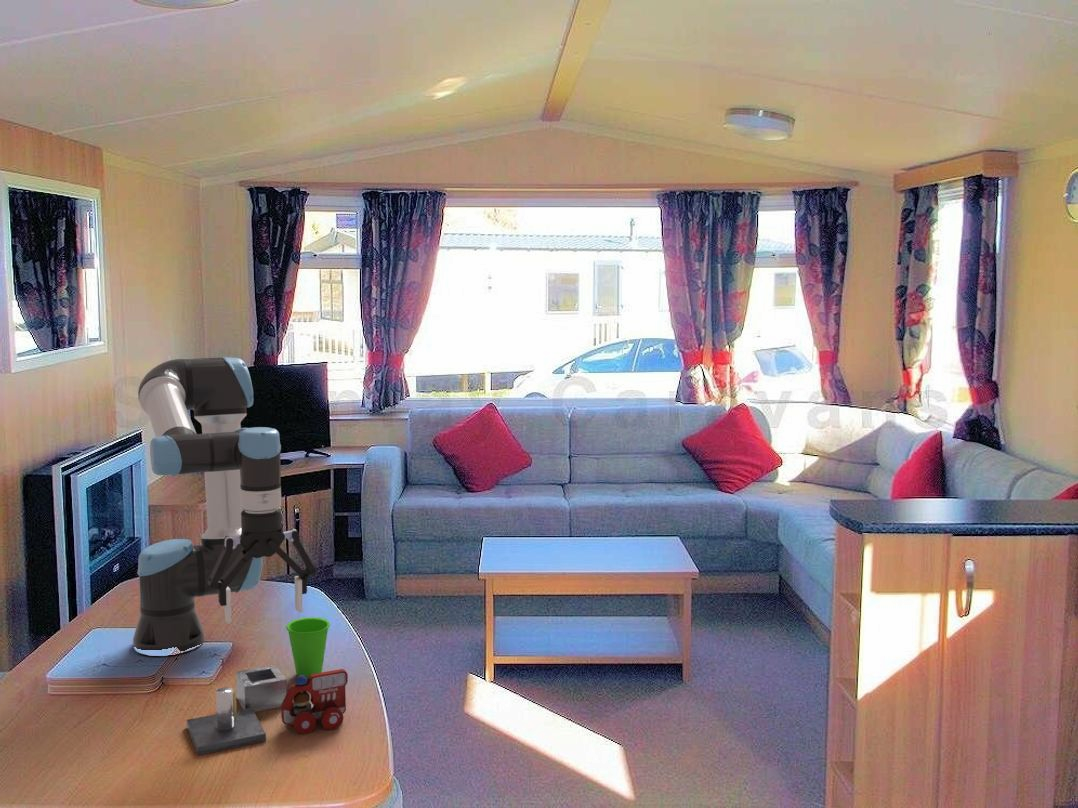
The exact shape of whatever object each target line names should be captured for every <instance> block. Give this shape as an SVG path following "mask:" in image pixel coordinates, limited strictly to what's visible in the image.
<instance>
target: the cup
mask: <svg viewBox="0 0 1078 808" xmlns="http://www.w3.org/2000/svg"><path fill="white" fill-rule="evenodd" d="M330 626H331V623H330V621H329V620H327V619H325V618H324V617H323V618H321V617H316V616H315V617H311V616H310V617H302V618H297V619H294V620H291V621H290V622H288V623H287V624H286V627H285V629H286V630H287V631H288V638H289V642H290V647H291V652H292V656H293V658H292V659H293V662H294V668H295V672H296V673H295V674H296V675H297V676H296V677H298V676H299V675H304V676H305V677H306V678H307V680H308V678H309V676H310V675H311V674H315V673H321V672H323V665H324V659H325V652H326V644H327V637H328V630H329V628H330Z"/></svg>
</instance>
